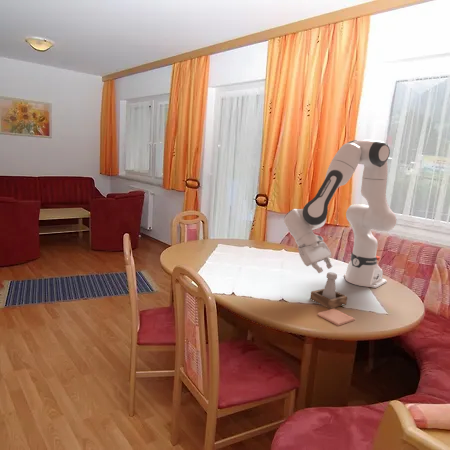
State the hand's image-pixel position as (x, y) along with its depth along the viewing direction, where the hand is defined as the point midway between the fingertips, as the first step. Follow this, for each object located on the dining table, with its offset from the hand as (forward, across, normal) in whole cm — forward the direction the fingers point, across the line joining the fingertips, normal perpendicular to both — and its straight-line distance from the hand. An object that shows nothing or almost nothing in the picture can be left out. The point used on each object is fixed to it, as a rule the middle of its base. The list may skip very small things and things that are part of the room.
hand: (325, 270), depth 160 cm
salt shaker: (+12, 0, +8) cm, 14 cm away
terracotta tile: (+18, -13, +1) cm, 22 cm away
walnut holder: (+12, 0, +8) cm, 14 cm away
